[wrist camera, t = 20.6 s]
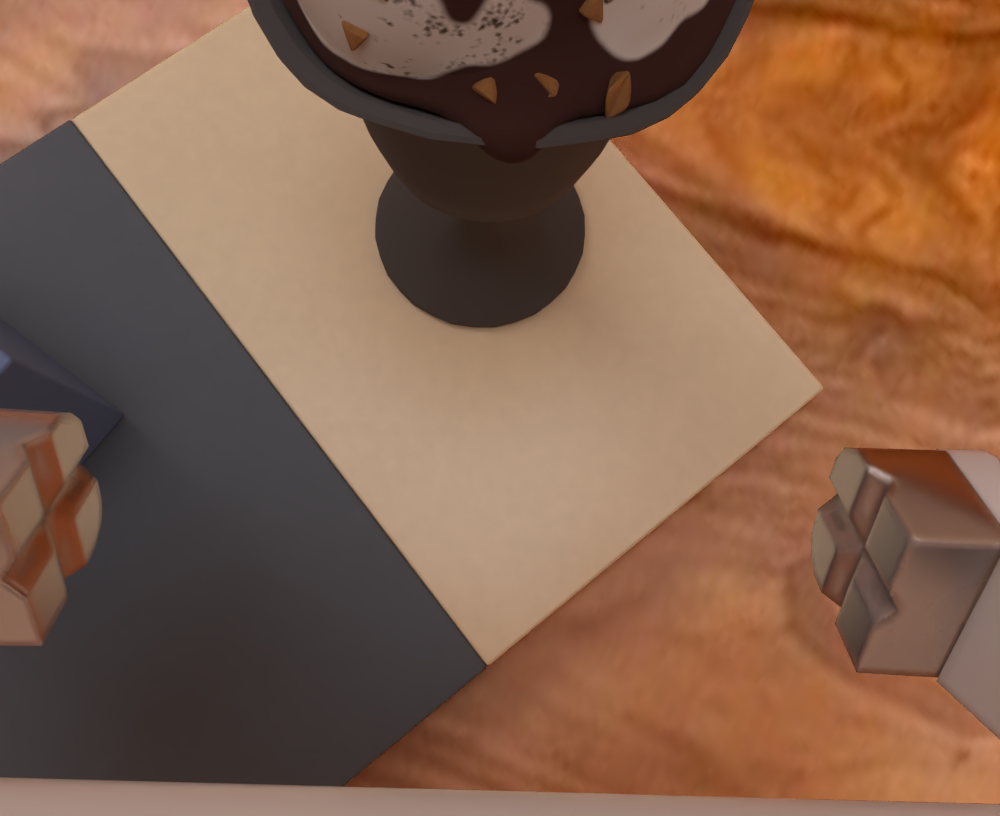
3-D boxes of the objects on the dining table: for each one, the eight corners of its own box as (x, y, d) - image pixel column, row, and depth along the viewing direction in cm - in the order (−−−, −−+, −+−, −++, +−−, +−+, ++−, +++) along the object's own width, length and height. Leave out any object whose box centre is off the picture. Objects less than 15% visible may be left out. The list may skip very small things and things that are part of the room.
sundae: (325, 357, 20) (-56, -291, 5) (353, 89, 21) (116, -1039, 6) (614, 378, 20) (1048, -185, 5) (624, 112, 21) (993, -928, 7)
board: (-287, 380, 20) (-325, 369, 19) (409, -69, 23) (407, -98, 22) (106, 976, 18) (86, 998, 17) (809, 396, 21) (826, 387, 20)
